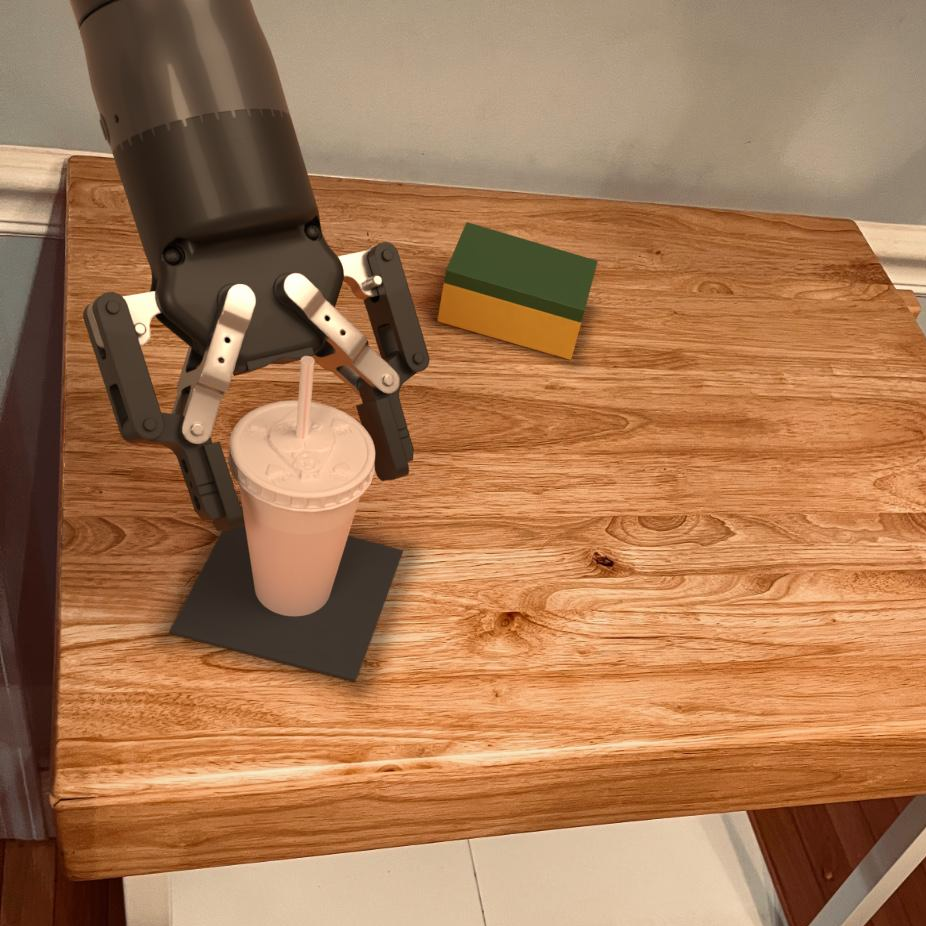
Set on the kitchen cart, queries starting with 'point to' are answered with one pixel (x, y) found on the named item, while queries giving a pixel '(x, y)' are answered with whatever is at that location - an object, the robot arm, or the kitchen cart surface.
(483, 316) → the scrubber
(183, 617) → the cloth
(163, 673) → the kitchen cart surface
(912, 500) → the kitchen cart surface
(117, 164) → the robot arm
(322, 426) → the smoothie
